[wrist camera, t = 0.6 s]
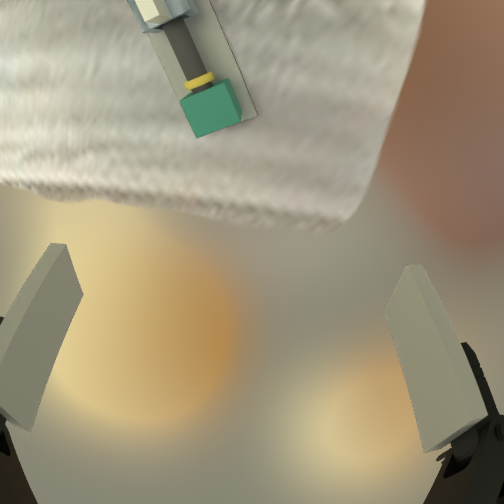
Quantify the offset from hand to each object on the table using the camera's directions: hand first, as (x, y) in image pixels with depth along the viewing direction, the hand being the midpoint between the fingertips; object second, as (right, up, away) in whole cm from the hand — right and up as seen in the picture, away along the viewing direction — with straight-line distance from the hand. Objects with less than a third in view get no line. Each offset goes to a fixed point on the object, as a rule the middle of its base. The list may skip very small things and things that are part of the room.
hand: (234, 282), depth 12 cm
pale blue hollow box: (-7, +25, +11) cm, 28 cm away
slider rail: (-5, +22, +15) cm, 28 cm away
